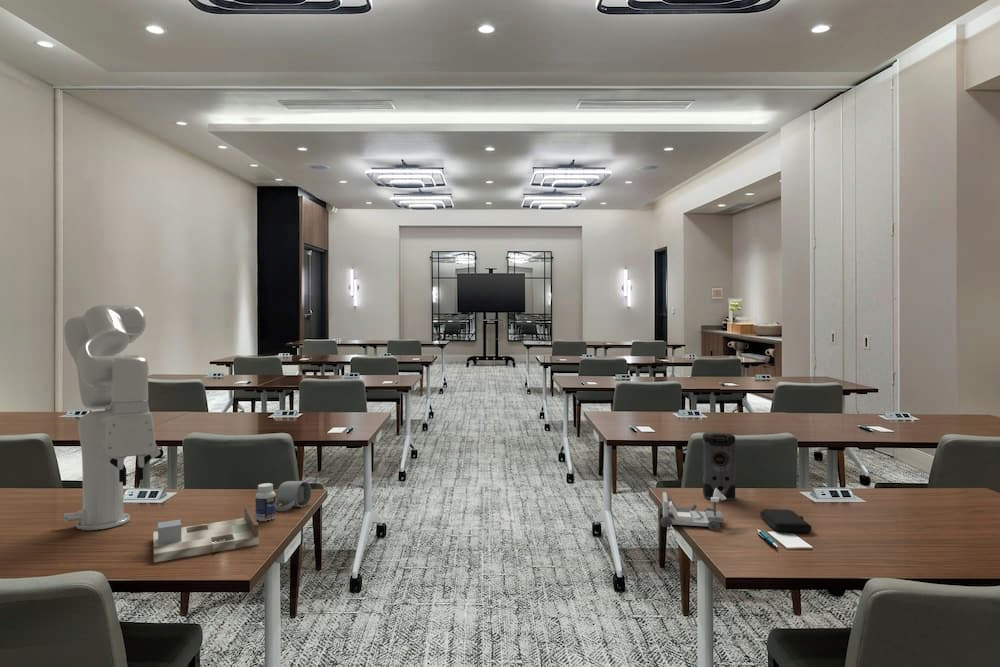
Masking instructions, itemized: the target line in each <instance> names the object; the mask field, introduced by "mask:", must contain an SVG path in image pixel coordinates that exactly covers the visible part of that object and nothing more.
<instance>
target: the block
mask: <svg viewBox="0 0 1000 667" xmlns="http://www.w3.org/2000/svg"><path fill="white" fill-rule="evenodd" d="M181 527H182V521H181V519H174V520H167V521H159V522H157V531H158V545H160V544H166V543H172V542H178V541H181Z"/></svg>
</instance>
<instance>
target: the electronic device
mask: <svg viewBox="0 0 1000 667" xmlns="http://www.w3.org/2000/svg"><path fill="white" fill-rule="evenodd" d="M715 488H717V489H718V490H719V491H720V492H722V491H723V490H725V491H724V492H723V493H722V494H723V495H724V496H725V497H726V499H725V500H724V501H734V500H735V499H736V436H735V435H734V434H732V433H720V432H719V433H718V432H716V433H715V432H704V433H703V434H702V495H703V497H704V499H706V500H711V497H713V493H714V490H715Z"/></svg>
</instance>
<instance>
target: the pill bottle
mask: <svg viewBox="0 0 1000 667" xmlns="http://www.w3.org/2000/svg"><path fill="white" fill-rule="evenodd" d="M257 491H258V492H256V493H255V519H256V521H257V520H258V521H257V522H268V521H267V520H269V521H272V520H274V519H275V518H276V514H277V510H276V501H277V500H276V499H277V493H276V492H275V491H274V484H273V483H270V482H267V483H265V482H264V483H260V484H258V485H257ZM271 519H272V520H271Z"/></svg>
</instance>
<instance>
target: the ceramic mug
mask: <svg viewBox="0 0 1000 667" xmlns="http://www.w3.org/2000/svg"><path fill="white" fill-rule="evenodd" d="M311 498H312V486H311V484H310V483H309V482H308V481H306V480H299V481H298V480H287V481H284V482H282V483H280V484H279V485H278V487H277V489H276V499H277V500H276V512H285V511H288V510H289V509H292V507H296V508H304V507H306V506H307V505H308V504H309V503H310V501H311ZM279 505H283V506H279ZM303 506H304V507H303Z"/></svg>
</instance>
